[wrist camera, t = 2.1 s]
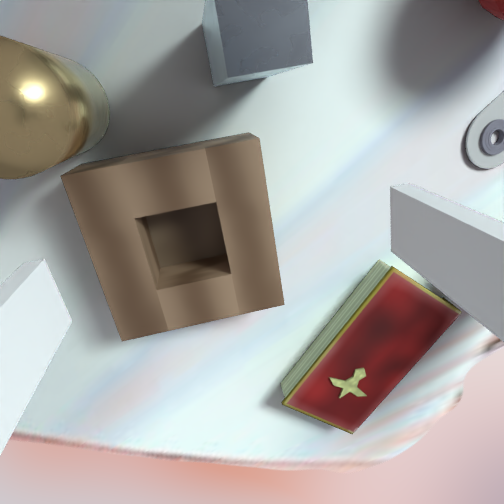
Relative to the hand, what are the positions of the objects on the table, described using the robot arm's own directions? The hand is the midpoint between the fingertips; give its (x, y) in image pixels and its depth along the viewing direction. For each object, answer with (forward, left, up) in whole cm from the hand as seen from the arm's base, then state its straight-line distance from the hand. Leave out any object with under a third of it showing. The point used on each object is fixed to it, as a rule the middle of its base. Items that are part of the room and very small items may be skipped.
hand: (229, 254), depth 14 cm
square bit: (-5, -9, -24) cm, 26 cm away
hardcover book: (-14, +26, -25) cm, 39 cm away
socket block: (+3, +6, -24) cm, 25 cm away
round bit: (+11, -7, -24) cm, 28 cm away
